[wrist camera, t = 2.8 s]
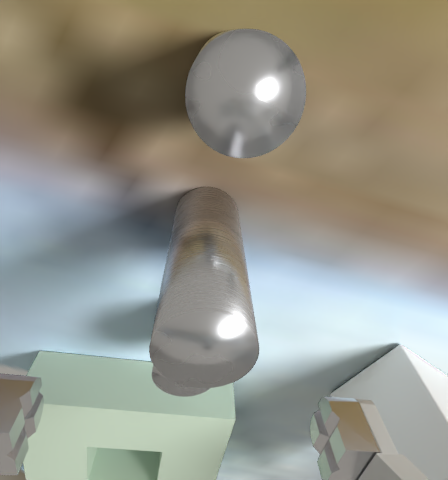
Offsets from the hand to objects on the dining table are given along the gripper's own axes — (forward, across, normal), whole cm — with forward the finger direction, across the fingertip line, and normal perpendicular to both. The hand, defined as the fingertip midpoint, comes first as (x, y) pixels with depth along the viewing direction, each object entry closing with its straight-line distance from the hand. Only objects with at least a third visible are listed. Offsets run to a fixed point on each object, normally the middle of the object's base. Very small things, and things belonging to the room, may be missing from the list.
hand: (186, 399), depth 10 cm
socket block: (+12, +2, +19) cm, 23 cm away
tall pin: (+12, -1, 0) cm, 12 cm away
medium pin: (+12, -1, -8) cm, 14 cm away
